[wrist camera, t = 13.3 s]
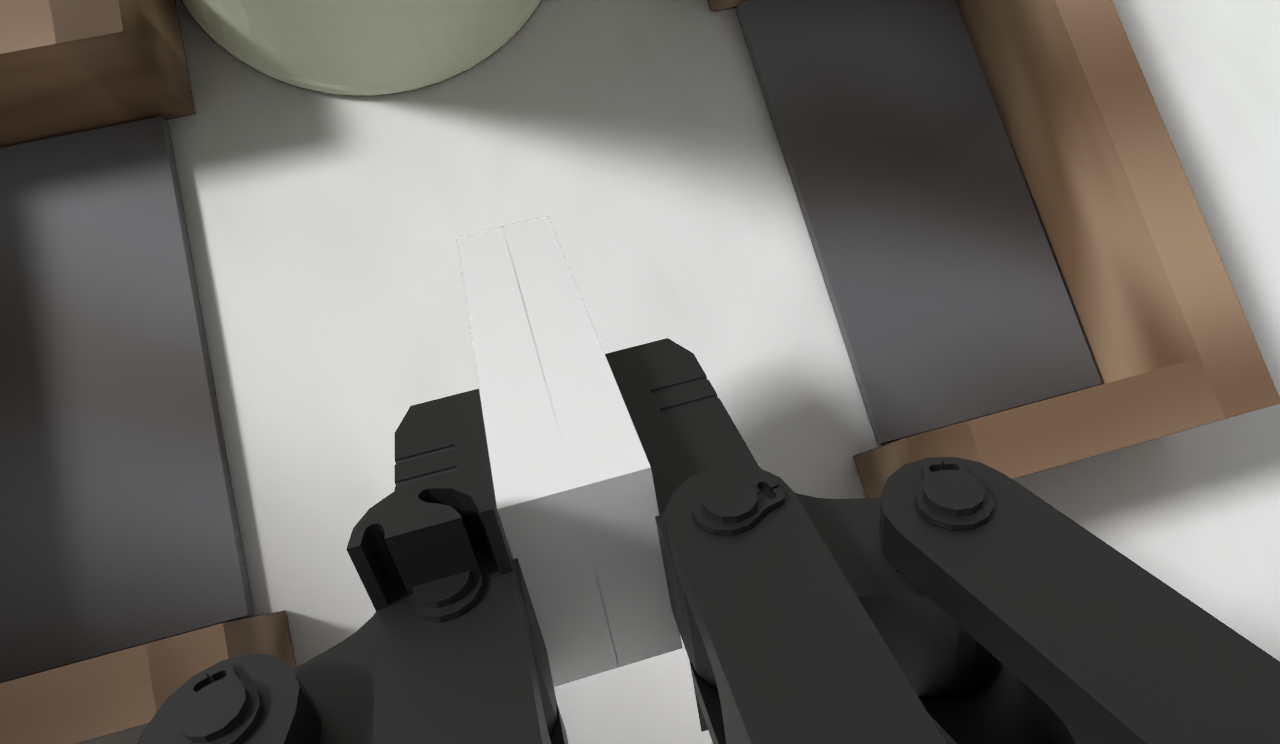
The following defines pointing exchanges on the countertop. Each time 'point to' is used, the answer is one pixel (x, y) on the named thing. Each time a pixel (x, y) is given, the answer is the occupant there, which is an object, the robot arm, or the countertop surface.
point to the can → (361, 39)
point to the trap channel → (835, 218)
